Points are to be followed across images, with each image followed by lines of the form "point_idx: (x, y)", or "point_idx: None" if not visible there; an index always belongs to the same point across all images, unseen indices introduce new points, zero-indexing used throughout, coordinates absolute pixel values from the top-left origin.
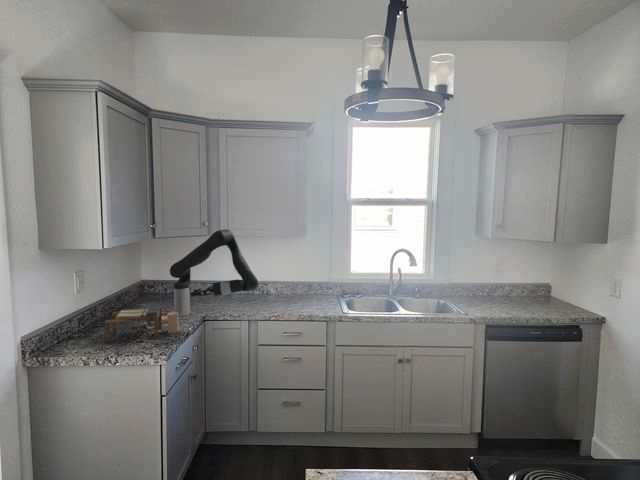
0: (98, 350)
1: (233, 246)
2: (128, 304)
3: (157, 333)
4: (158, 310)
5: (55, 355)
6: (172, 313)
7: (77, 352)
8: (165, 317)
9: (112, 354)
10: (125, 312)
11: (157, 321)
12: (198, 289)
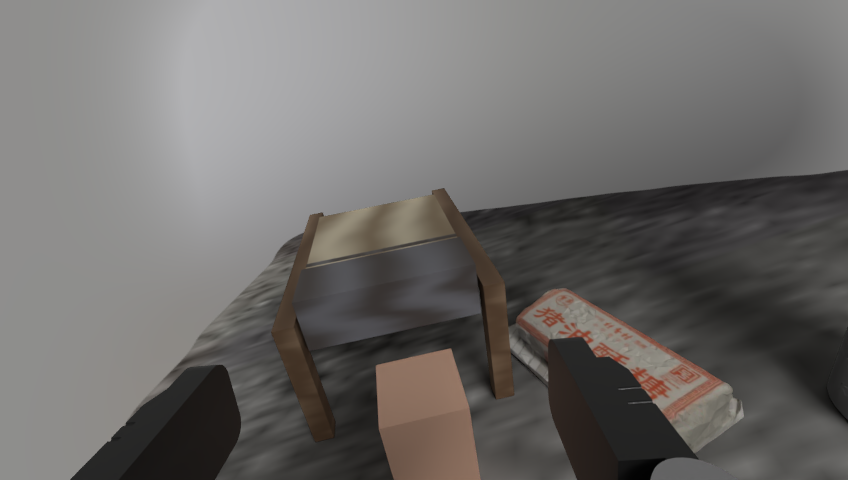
0: (270, 301)
1: None
2: (838, 171)
3: (306, 416)
4: (395, 291)
5: (285, 249)
6: (418, 383)
7: (282, 271)
8: (603, 350)
9: (195, 348)
10: (388, 212)
11: (282, 358)
12: (591, 420)
